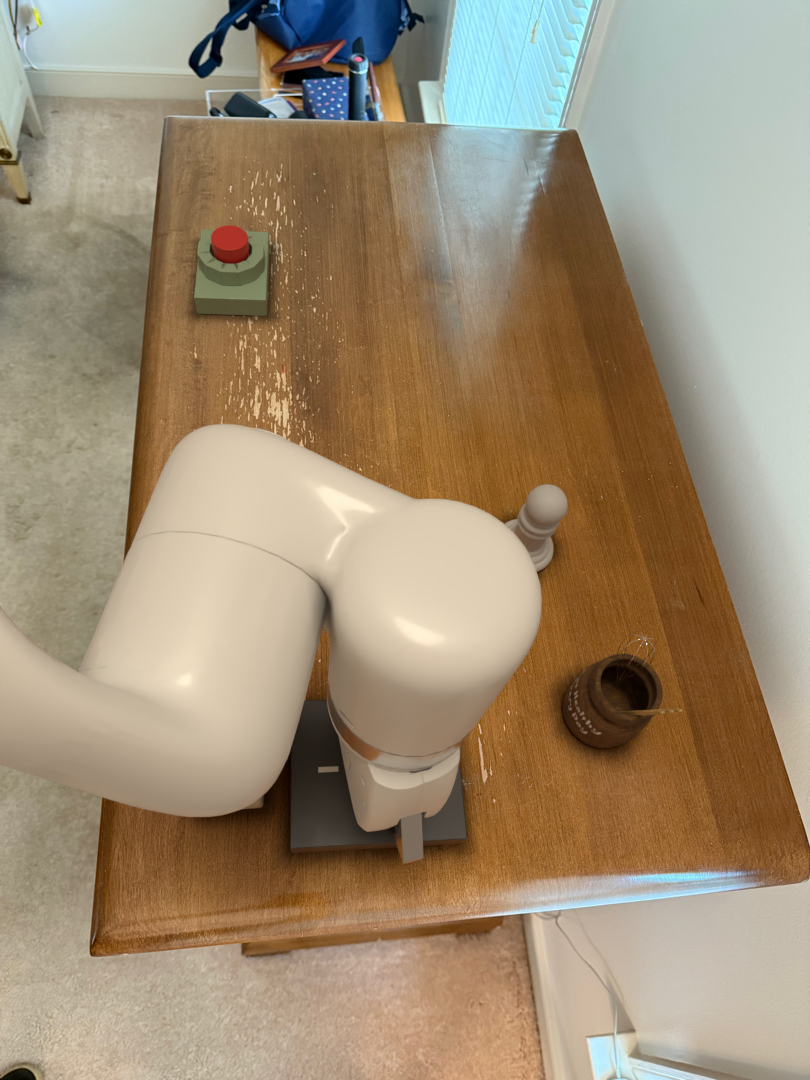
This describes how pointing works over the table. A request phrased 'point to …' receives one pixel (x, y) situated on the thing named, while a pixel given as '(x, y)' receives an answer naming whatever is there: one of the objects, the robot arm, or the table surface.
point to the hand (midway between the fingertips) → (377, 765)
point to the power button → (230, 244)
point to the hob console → (346, 796)
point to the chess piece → (540, 522)
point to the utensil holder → (613, 699)
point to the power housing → (233, 279)
